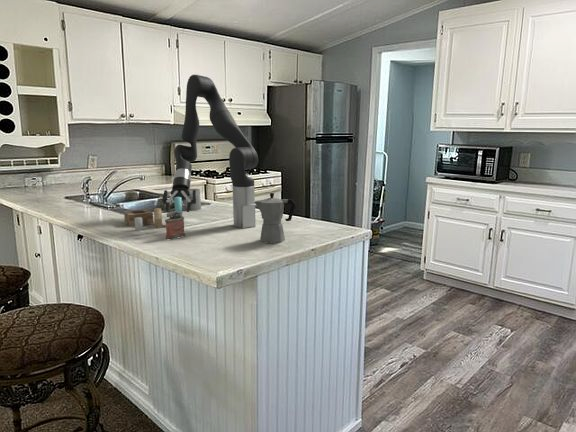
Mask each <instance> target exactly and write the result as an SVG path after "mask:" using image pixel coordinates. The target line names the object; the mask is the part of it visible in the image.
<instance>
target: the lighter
mask: <svg viewBox="0 0 576 432" xmlns="http://www.w3.org/2000/svg"><path fill="white" fill-rule="evenodd" d="M164 221H165V232H166V236H165V238H166V240H167V239H171V240H174V239H173V238H176V239H179V238H178V237H180V238H183V237H182V236H184V237H185V236H186V233H185V217H184V216H183V217H181V212H175V210H174V211H172V212H166V218H165V220H164Z"/></svg>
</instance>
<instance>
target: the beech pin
mask: <svg viewBox="0 0 576 432" xmlns="http://www.w3.org/2000/svg"><path fill="white" fill-rule="evenodd" d="M162 219H163V217H162V208H161V207H160V208H159V207H157V208H153V222H154V228H155V229H161V228H163V220H162Z"/></svg>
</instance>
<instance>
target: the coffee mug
mask: <svg viewBox="0 0 576 432" xmlns="http://www.w3.org/2000/svg"><path fill="white" fill-rule="evenodd" d="M193 190H195V191H196V204H192V205H191V210H190V211H189V212H191V211H193V212H194V211H200V210H202V203H201V202H202V201H201V189H200V188H191V187H190V190H189V191H193ZM188 198H189V199H190V200H192V198H193V196H192V195H191V194H190V195H189V196H188ZM183 211H185V212H187V202H186V201H185V200H184V201H182V212H183Z"/></svg>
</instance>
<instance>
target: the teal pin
mask: <svg viewBox="0 0 576 432" xmlns="http://www.w3.org/2000/svg"><path fill="white" fill-rule="evenodd" d="M173 203H174V211H175V212H181V217H184V215H183V210H182V199H181V197H174V202H173Z"/></svg>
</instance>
